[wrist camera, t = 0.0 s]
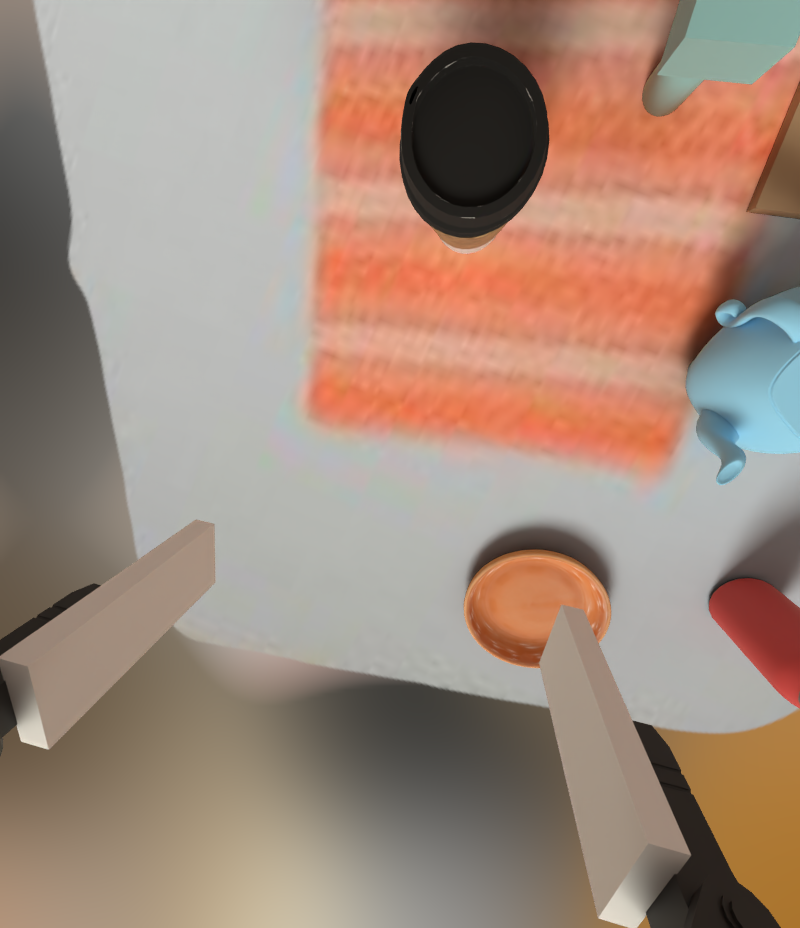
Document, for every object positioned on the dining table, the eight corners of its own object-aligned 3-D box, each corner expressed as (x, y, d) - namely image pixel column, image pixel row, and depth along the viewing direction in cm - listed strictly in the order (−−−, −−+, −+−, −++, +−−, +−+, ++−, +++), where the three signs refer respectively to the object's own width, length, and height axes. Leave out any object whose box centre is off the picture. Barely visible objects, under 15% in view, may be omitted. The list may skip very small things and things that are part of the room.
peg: (641, 39, 28) (732, -112, 19) (720, 46, 28) (854, -105, 18) (614, 131, 30) (684, 37, 21) (688, 139, 30) (794, 47, 20)
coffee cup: (454, 139, 32) (447, -13, 18) (538, 193, 32) (595, 85, 18) (404, 238, 35) (366, 175, 21) (482, 287, 35) (494, 256, 21)
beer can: (694, 592, 42) (778, 687, 31) (757, 564, 40) (873, 655, 28) (722, 633, 43) (815, 739, 32) (786, 608, 41) (909, 712, 29)
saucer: (489, 661, 50) (491, 680, 47) (444, 561, 46) (443, 576, 43) (618, 634, 45) (628, 654, 42) (579, 522, 41) (587, 535, 39)
